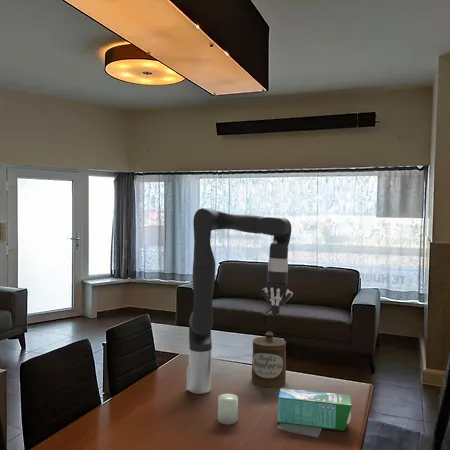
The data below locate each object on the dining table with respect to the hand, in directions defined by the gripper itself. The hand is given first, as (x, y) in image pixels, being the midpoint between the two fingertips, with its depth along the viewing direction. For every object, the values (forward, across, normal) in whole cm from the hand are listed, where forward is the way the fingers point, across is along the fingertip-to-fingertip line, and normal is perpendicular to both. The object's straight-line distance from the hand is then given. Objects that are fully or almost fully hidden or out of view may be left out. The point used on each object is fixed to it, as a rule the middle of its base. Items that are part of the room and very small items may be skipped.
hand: (275, 315), depth 172 cm
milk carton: (+30, +6, -9) cm, 32 cm away
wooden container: (+35, -9, +24) cm, 44 cm away
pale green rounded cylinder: (+36, -10, -18) cm, 41 cm away
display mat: (+35, +15, -9) cm, 39 cm away
